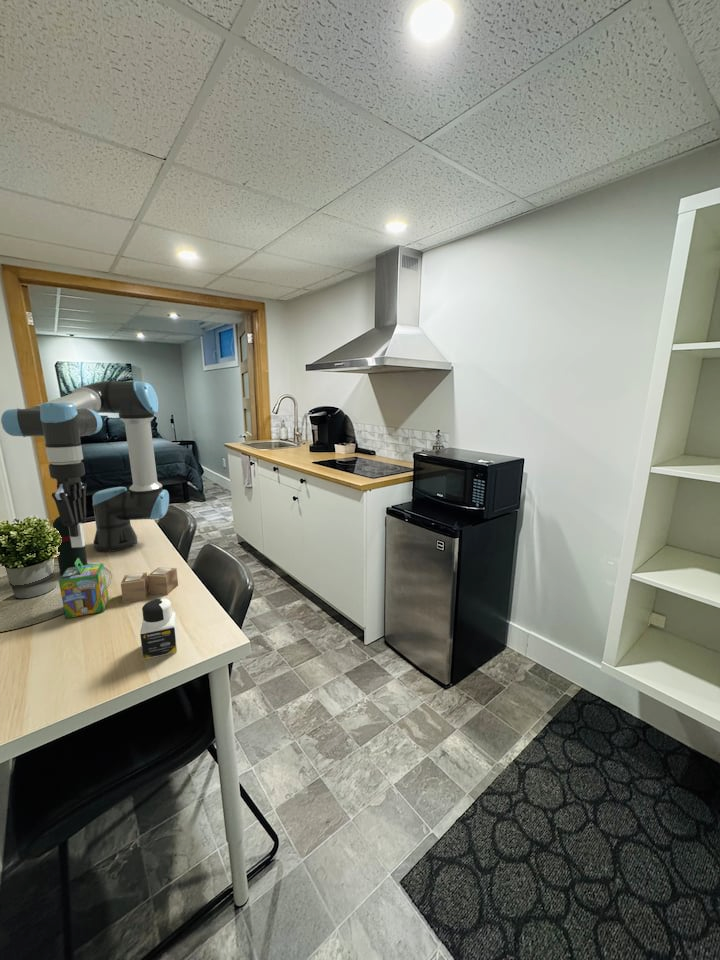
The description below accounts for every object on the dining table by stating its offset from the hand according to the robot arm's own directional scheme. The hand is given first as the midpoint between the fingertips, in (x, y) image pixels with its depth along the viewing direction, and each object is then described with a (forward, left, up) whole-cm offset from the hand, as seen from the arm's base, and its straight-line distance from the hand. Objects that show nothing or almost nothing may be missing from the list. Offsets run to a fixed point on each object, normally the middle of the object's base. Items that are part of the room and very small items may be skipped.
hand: (78, 546), depth 108 cm
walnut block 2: (-8, +18, -19) cm, 27 cm away
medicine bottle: (+23, +26, -19) cm, 40 cm away
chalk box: (0, 0, -19) cm, 19 cm away
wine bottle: (-27, -16, -19) cm, 37 cm away
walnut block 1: (-5, +11, -19) cm, 22 cm away
